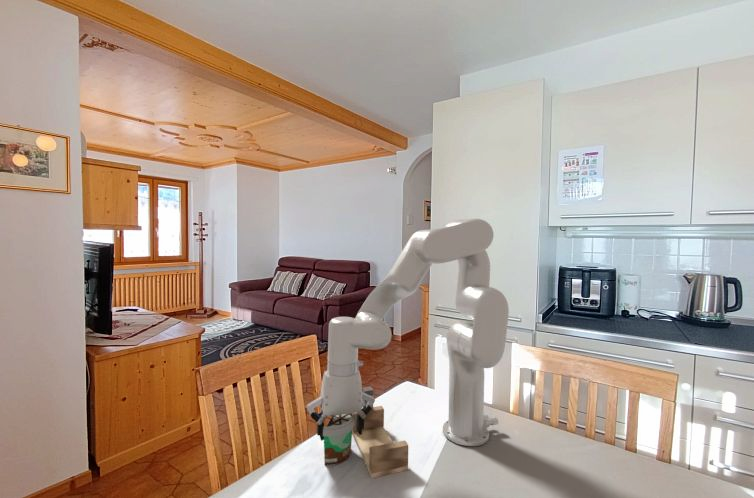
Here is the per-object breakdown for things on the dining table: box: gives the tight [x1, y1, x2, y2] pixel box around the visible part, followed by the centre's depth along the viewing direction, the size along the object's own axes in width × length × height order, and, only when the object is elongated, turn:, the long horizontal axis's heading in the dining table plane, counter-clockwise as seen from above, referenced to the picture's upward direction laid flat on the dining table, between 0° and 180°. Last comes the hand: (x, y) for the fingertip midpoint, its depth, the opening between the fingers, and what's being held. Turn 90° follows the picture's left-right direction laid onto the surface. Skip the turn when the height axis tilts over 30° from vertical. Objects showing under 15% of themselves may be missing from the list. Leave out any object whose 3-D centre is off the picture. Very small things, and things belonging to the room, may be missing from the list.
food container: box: [323, 413, 355, 466], centre depth 88 cm, size 12×6×10 cm, turn 168°
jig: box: [352, 426, 409, 479], centre depth 91 cm, size 9×21×6 cm, turn 18°
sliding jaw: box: [352, 386, 385, 431], centre depth 98 cm, size 9×2×11 cm, turn 108°
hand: (340, 434), depth 88 cm, fingers open, 9 cm apart
